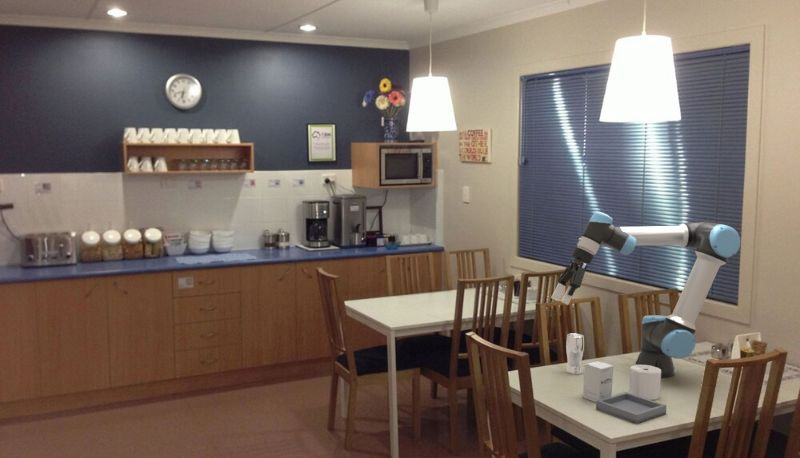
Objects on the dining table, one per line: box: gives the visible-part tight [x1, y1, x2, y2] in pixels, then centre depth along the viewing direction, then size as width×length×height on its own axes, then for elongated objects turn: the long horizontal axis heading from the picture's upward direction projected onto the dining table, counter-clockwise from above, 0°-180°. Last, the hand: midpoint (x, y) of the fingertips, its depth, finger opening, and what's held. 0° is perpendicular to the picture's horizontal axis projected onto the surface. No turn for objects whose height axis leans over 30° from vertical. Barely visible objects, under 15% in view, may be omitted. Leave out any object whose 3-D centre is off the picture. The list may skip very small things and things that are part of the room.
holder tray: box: [595, 391, 667, 425], centre depth 249 cm, size 16×16×3 cm
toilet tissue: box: [628, 364, 662, 401], centre depth 265 cm, size 11×12×10 cm
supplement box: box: [582, 360, 614, 403], centre depth 261 cm, size 7×7×13 cm
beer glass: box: [565, 333, 585, 375], centre depth 293 cm, size 7×7×15 cm
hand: (559, 301), depth 271 cm, fingers open, 13 cm apart
